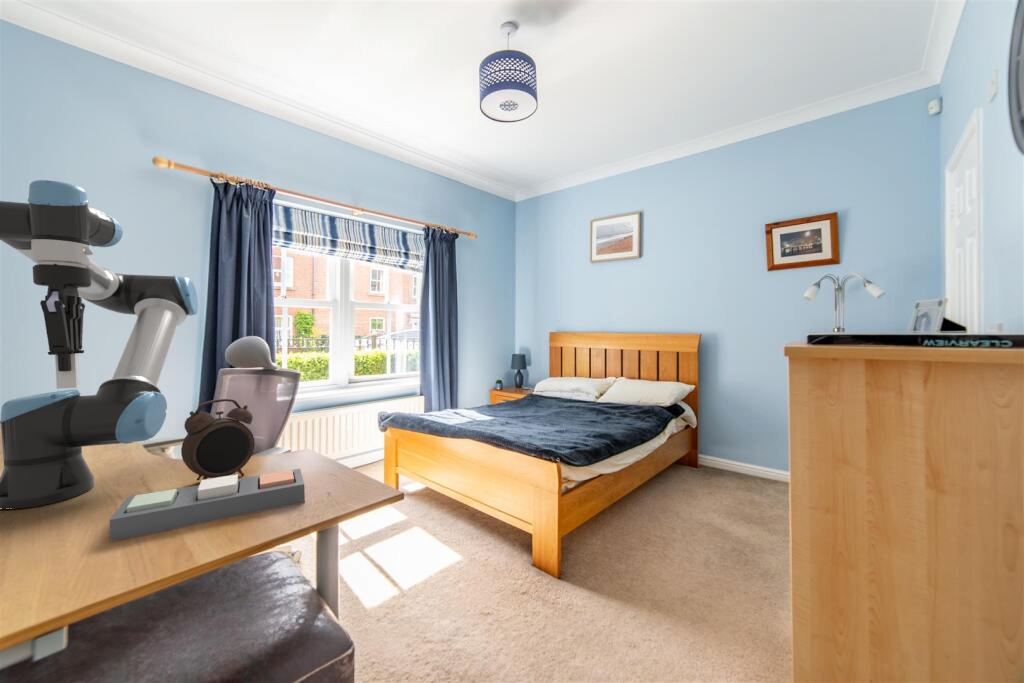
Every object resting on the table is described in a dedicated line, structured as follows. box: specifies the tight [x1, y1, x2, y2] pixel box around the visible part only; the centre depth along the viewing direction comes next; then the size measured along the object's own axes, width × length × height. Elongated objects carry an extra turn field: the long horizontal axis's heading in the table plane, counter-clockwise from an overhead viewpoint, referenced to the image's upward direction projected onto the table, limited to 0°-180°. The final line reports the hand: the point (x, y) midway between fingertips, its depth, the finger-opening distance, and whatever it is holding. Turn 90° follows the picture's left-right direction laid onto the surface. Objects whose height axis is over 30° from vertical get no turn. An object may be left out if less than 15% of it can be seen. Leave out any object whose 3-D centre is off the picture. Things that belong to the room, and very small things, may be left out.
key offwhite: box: [198, 473, 239, 500], centre depth 86 cm, size 6×6×3 cm
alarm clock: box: [180, 398, 256, 481], centre depth 102 cm, size 15×7×20 cm, turn 143°
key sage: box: [127, 488, 178, 513], centre depth 80 cm, size 6×6×3 cm
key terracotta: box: [260, 469, 294, 489], centre depth 91 cm, size 6×6×3 cm
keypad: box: [109, 468, 306, 543], centre depth 86 cm, size 11×31×4 cm, turn 122°
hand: (68, 387), depth 80 cm, fingers closed
